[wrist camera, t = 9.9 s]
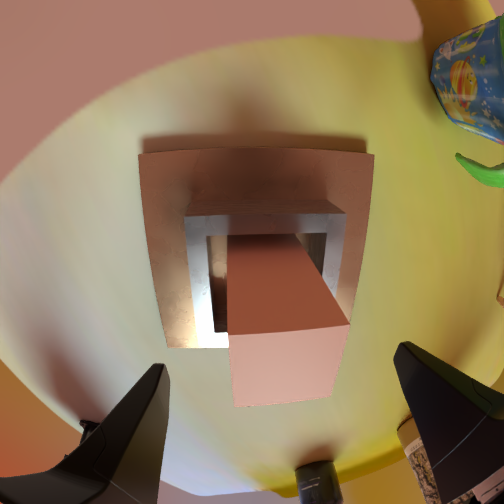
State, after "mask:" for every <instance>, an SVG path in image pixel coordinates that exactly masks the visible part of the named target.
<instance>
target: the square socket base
mask: <svg viewBox="0 0 504 504" xmlns="http://www.w3.org/2000/svg"><path fill="white" fill-rule="evenodd" d="M138 160H139V174H140V186H141V197H142V206H143V215H144V223H145V231H146V238H147V245H148V252H149V258H150V264H151V270H152V276H153V281H154V286H155V292H156V297H157V302H158V306H159V311H160V316H161V320H162V325H163V329H164V333H165V337H166V342H167V346H168V348H222V347H228V333H227V235H248V234H286V233H295V235H296V236H297V238H298V240H299V241H300V243H301V244H302V246H303V247H304V249H305V251H306V252H307V254H308V255H309V257H310V259H311V260H312V262H313V263H314V265H315V267H316V268H317V270H318V271H319V273H320V275H321V276H322V278H323V279H324V281H325V283H326V284H327V286H328V288H329V289H330V291H331V293H332V294H333V296H334V298H335V299H336V301H337V303H338V304H339V306H340V308H341V309H342V311H343V313H344V314H345V316H346V318H347V320H348V321H349V322H350V318H351V314H352V309H353V305H354V300H355V295H356V291H357V286H358V281H359V275H360V270H361V264H362V259H363V253H364V247H365V240H366V233H367V226H368V219H369V210H370V202H371V192H372V182H373V169H374V155H373V154H368V153H360V152H350V151H338V150H325V149H308V148H283V147H230V148H204V149H187V150H174V151H162V152H152V153H143V154H139V155H138Z"/></svg>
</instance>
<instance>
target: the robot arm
mask: <svg viewBox="0 0 504 504" xmlns="http://www.w3.org/2000/svg"><path fill="white" fill-rule="evenodd" d="M393 361H394V365H395V368H396V371H397V374H398V378H399V381H400V384H401V388H402V391H403V393H404V396H405V399H406V401H407V403H408V406H409V408H410V411H411V413H412V416H413V419H414V421H415V424H416V426H417V429H418V432H419V434H420V437H421V440H422V443H423V445H424V448H425V451H426V454H427V457H428V460H429V463H430V466H431V469H432V473H433V476H434V479H435V482H436V486H437V489H438V493H439V496H440V500H441V503H442V504H448V503H450V502H452V501H453V500H455V499H457V498H459V497H460V496H462V495H463V494H465V493H467V492H468V491H470V490H471V489H473V492H474V495H472V496H471V497H470V498H468V499H467V500H465V501H464V502H463V504H504V394H502V393H500V392H497V391H495V390H493V389H491V388H489V387H487V386H485V385H483V384H482V383H480V382H478V381H476V380H475V379H473V378H471V377H470V376H468V375H466V374H464V373H463V372H461V371H459V370H458V369H456V368H454V367H453V366H451V365H449V364H447V363H446V362H444V361H442V360H441V359H439V358H437V357H435V356H434V355H432V354H430V353H429V352H427V351H425V350H423V349H422V348H420V347H418V346H417V345H415V344H413V343H411V342H410V341H405V342H401V343H400V344H399V345H398V348H397V350H396V353H395V355H394V358H393ZM169 397H170V378H169V374H168V371H167V368H166V365H165V364H162V363H154V364H153V365H152V366H151V367H150V368H149V369H148V370H147V371H146V373H145V374H144V375H143V376H142V377H141V378H140V379H139V380H138V382H137V383H136V384H135V385H134V386H133V387H132V388H131V390H130V391H129V392H128V393H127V394H126V395H125V396H124V397H123V399H122V400H121V401H120V402H119V403H118V404H117V405H116V406H115V408H114V409H113V410H112V411H111V412H110V413H109V414H108V415H107V417H106V418H105V419H104V420H103V421H102V422H101V423H100V424H96V423H91V422H87V421H82V420H80V423H79V424H80V425H81V426H82V427H83V429H84V431H83V435H82V438H81V441H80V444H79V446H78V447H77V448H76V449H75V450H74V451H72V452H71V453H70V454H69V455H66V454H65V456H64V459H63V460H62V461H61V462H60V463H58V464H57V465H56V466H55V467H53V468H51V469H50V470H48V471H45V472H41V473H35V474H28V475H21V476H14V477H0V502H1V503H2V504H157V498H158V489H159V481H160V474H161V466H162V459H163V452H164V445H165V439H166V432H167V426H168V419H169Z"/></svg>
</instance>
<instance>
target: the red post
mask: <svg viewBox="0 0 504 504" xmlns="http://www.w3.org/2000/svg"><path fill="white" fill-rule="evenodd" d="M349 328H350V323H349V321H348V320H347V318H346V316H345V314H344V313H343V311H342V309H341V308H340V306H339V304H338V303H337V301H336V299H335V298H334V296H333V294H332V293H331V291H330V289H329V288H328V286H327V284H326V283H325V281H324V279H323V278H322V276H321V275H320V273H319V271H318V270H317V268H316V267H315V265H314V263H313V262H312V260H311V259H310V257H309V255H308V254H307V252H306V251H305V249H304V247H303V246H302V244H301V243H300V241H299V240H298V238H297V236H296V235H295V233H286V234H248V235H227V333H228V347H229V358H230V369H231V380H232V390H233V400H234V407H245V406H259V405H271V404H281V403H290V402H298V401H305V400H312V399H318V398H324V397H330V396H331V393H332V389H333V386H334V383H335V380H336V376H337V373H338V370H339V366H340V363H341V359H342V355H343V352H344V348H345V344H346V340H347V336H348V332H349Z"/></svg>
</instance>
